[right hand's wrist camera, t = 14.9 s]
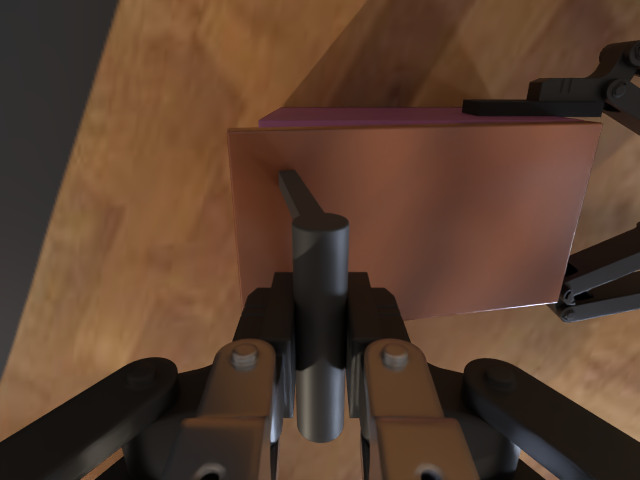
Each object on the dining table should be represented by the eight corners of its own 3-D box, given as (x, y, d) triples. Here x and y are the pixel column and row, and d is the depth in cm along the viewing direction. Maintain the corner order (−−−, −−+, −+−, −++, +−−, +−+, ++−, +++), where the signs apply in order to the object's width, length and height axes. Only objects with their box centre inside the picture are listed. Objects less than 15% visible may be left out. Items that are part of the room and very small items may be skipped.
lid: (243, 326, 19) (250, 492, 11) (227, 128, 16) (220, 173, 8) (542, 292, 22) (709, 406, 14) (583, 120, 19) (830, 147, 11)
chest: (284, 228, 32) (267, 290, 23) (280, 107, 29) (257, 119, 19) (479, 229, 32) (544, 292, 22) (498, 107, 28) (585, 120, 19)
